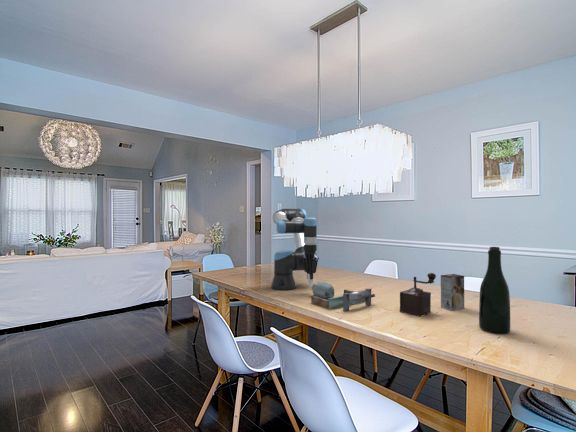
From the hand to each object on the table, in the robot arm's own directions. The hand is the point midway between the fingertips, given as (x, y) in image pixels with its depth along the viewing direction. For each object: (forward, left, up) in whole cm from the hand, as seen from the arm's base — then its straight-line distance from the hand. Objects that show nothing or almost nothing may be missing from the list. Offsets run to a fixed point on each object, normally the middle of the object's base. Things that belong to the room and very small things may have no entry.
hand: (310, 284), depth 187 cm
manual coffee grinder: (+57, +19, -5) cm, 60 cm away
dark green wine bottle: (+89, +20, -5) cm, 91 cm away
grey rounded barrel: (+11, 0, -5) cm, 12 cm away
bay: (+23, 0, -5) cm, 24 cm away
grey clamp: (+36, +2, -5) cm, 36 cm away
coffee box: (+64, +37, -5) cm, 74 cm away
